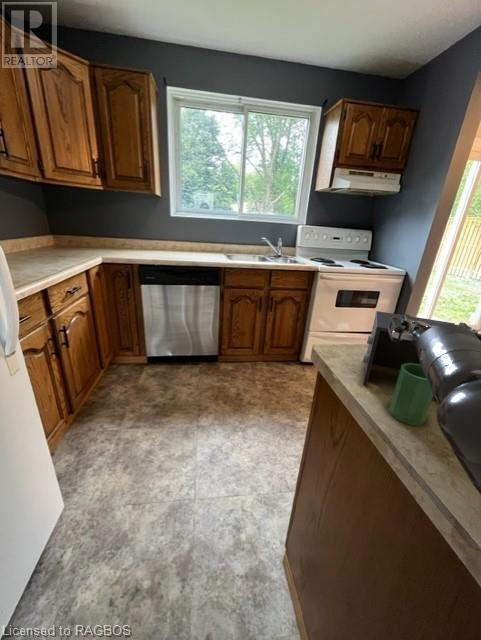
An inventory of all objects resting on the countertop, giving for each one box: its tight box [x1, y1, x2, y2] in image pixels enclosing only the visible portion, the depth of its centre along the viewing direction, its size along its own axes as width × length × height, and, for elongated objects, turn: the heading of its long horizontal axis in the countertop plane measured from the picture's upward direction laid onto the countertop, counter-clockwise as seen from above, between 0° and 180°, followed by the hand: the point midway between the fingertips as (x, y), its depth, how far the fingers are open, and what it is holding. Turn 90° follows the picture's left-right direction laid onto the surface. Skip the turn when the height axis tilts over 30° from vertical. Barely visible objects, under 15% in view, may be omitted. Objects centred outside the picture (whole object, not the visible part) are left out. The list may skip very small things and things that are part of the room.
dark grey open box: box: [362, 310, 455, 386], centre depth 64 cm, size 18×13×15 cm
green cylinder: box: [388, 363, 434, 426], centre depth 53 cm, size 6×6×10 cm
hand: (431, 323), depth 50 cm, fingers open, 8 cm apart
